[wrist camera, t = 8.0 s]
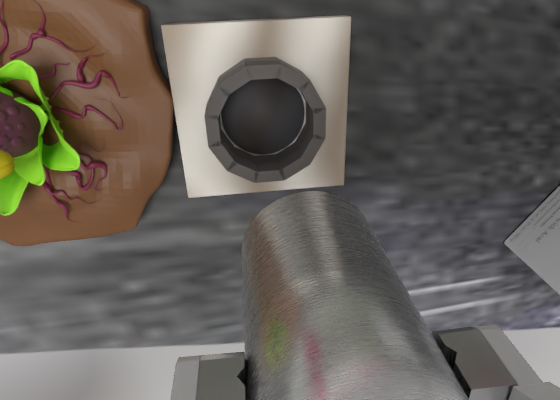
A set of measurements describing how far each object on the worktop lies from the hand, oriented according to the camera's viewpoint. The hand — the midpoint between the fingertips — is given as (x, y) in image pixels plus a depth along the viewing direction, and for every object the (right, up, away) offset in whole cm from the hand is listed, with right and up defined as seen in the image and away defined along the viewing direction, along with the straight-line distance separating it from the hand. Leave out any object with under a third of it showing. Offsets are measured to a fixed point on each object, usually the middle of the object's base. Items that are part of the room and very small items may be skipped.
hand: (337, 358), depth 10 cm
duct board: (-3, +10, +20) cm, 23 cm away
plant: (-19, +10, +19) cm, 28 cm away
